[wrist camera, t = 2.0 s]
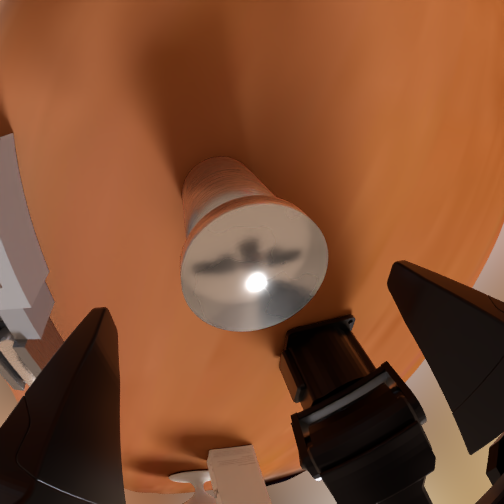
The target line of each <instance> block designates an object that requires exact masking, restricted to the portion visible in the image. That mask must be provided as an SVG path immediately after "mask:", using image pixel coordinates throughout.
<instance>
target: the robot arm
mask: <svg viewBox="0 0 504 504" xmlns="http://www.w3.org/2000/svg"><path fill="white" fill-rule="evenodd" d="M387 286H388V289H389V291H390V293H391V295H392V297H393V299H394V301H395V303H396V305H397V307H398V309H399V311H400V313H401V315H402V317H403V319H404V321H405V323H406V325H407V327H408V328H409V330H410V332H411V334H412V335H413V337H414V339H415V341H416V342H417V344H418V346H419V348H420V349H421V351H422V353H423V355H424V357H425V359H426V360H427V362H428V364H429V366H430V368H431V370H432V372H433V374H434V376H435V378H436V380H437V381H438V384H439V386H440V388H441V390H442V392H443V394H444V396H445V398H446V400H447V402H448V404H449V406H450V409H451V411H452V412H453V413H452V414H453V416H454V418H455V421H456V423H457V425H458V427H459V430H460V432H461V435H462V437H463V440H464V442H465V445H466V447H467V450H468V452H469V454H470V455H472V454H473V453H475V452H476V451H478V450H479V449H481V448H482V447H484V446H485V445H487V444H488V443H489V442H491V441H492V440H494V439H495V438H496V437H498V436H499V435H500V434H501V433H502V434H501V435H500V436H499V437H498V439H497V440H496V441H495V442H494V443H493V444H492V445H491V446H490V448H489V456H488V463H487V469H486V475H487V476H488V478H489V480H490V482H491V483H492V485H493V486H492V487H491V488H490V489H489V490H488V491H487V492H486V493H485V494H484V495H483V496H482V497H481V498H480V499H479V500H478V501H477V502H476V503H475V504H504V302H502V301H500V300H497V299H495V298H493V297H491V296H489V295H486V294H484V293H482V292H480V291H477V290H475V289H473V288H471V287H468V286H466V285H464V284H461V283H459V282H457V281H454V280H452V279H450V278H447V277H445V276H442V275H440V274H438V273H435V272H433V271H430V270H428V269H425V268H423V267H420V266H418V265H415V264H413V263H410V262H408V261H405V260H402V261H397V262H395V263H394V264H393V265H392V268H391V272H390V275H389V278H388V281H387ZM354 322H355V318H354V317H353V315H347V316H344V317H340V318H336V319H332V320H328V321H324V322H320V323H316V324H312V325H308V326H304V327H299V328H295V329H291V330H289V331H288V332H287V334H286V340H285V347H284V350H283V351H282V354H281V361H280V370H281V373H282V375H283V378H284V380H285V383H286V385H287V387H288V390H289V392H290V395H291V397H292V399H293V401H294V402H295V403H298V402H300V403H301V405H302V407H303V411H301V412H299V413H295V414H293V415H291V419H292V423H291V425H292V428H293V432H294V436H295V439H296V443H297V447H298V451H299V459H300V466H301V467H302V469H304V470H307V471H309V473H310V474H311V475H312V477H313V478H314V479H315V480H317V481H321V480H323V481H324V483H325V485H326V486H327V488H328V489H329V491H330V492H331V494H332V495H333V496H334V498H335V500H336V502H337V504H432V502H431V500H430V498H429V495H428V493H427V491H426V489H425V487H424V483H425V479H426V476H427V475H428V474H430V473H431V472H433V471H434V469H435V459H436V458H435V455H434V454H433V451H432V448H431V445H430V443H429V441H428V438H427V436H426V434H425V432H424V430H423V428H422V426H421V425H423V424H424V423H426V421H427V420H426V416H425V413H424V411H423V409H422V407H421V405H420V403H419V401H418V400H417V398H416V397H415V395H414V394H413V393H412V391H411V390H410V389H409V388H408V386H407V385H406V384H405V383H404V381H403V380H402V379H401V378H400V376H399V375H398V374H397V373H396V372H395V370H394V369H393V368H392V367H391V366H390V364H389V363H388V362H387V361H386V362H384V363H383V364H381V366H380V367H378V368H377V369H376V368H375V366H374V365H373V363H372V361H371V360H370V358H369V357H368V355H367V354H366V352H365V351H364V349H363V348H362V346H361V345H360V343H359V342H358V341H357V339H356V338H355V336H354V335H353V333H352V332H351V330H352V328H353V325H354ZM0 504H126V501H125V494H124V485H123V475H122V463H121V446H120V372H119V355H118V333H117V328H116V326H115V324H114V321H113V319H112V317H111V314H110V312H109V310H108V309H107V308H106V307H100V308H94V309H92V310H91V311H90V312H89V314H88V315H87V316H86V317H85V318H84V319H83V321H82V322H81V323H80V324H79V325H78V326H77V328H76V329H75V330H74V331H73V332H72V333H71V335H70V336H69V337H68V338H67V339H66V341H65V342H64V343H63V344H62V346H61V347H60V348H59V349H58V351H57V352H56V353H55V354H54V356H53V357H52V358H51V359H50V361H49V362H48V363H47V364H46V366H45V367H44V368H43V370H42V371H41V372H40V374H39V375H38V376H37V378H36V379H35V380H34V382H33V383H32V384H31V386H30V387H29V388H28V390H27V391H26V393H25V396H23V397H22V398H21V400H20V401H19V403H18V404H17V406H16V407H15V408H14V410H13V411H12V413H11V414H10V415H9V417H8V418H7V420H6V421H5V422H4V423H3V425H2V426H1V427H0Z"/></svg>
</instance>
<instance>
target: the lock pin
mask: <svg viewBox="0 0 504 504" xmlns="http://www.w3.org/2000/svg"><path fill="white" fill-rule="evenodd" d="M14 341H15V338H14V337H13V335H12V334H11V332H10V331H9V329H8V327H7V326H5V327H4V328H2V329H1V330H0V351H1V352H2V354H3V355H4V356H5V358H6V359H7V360H8V362H9V363H10V364H11V365H12V367H13V368H14V369H15V370H16V371H17V373H18V374H19V375H20V376H21V377H22V379H23V380H24V381H25V382H26V383H27V384H28V385H29V386H31V384H32V383H33V382H34V380H35V379H36V377H35V376H34V375H33V374H32V372H31V371H30V370H29V369H28V367H27V366H26V365H25V364H24V362H23V361H22V360H21V358H20V357H19V356H18V354H17V353H16V352H15V350H14V349H13V348H12V347H13V344H14Z"/></svg>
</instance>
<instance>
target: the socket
mask: <svg viewBox="0 0 504 504" xmlns="http://www.w3.org/2000/svg"><path fill="white" fill-rule="evenodd" d="M48 273H49V270H48V267H47V265H46V262H45V260H44V257H43V254H42V252H41V249H40V246H39V243H38V240H37V237H36V234H35V231H34V228H33V225H32V221H31V218H30V215H29V211H28V207H27V204H26V200H25V196H24V192H23V187H22V183H21V178H20V173H19V168H18V163H17V157H16V151H15V144H14V136H13V133H11V134H8V135H5V136H2V137H0V321H1V320H3V321H4V323H5V324H6V326H7V327H8V329H9V331H10V332H11V334H12V335H13V337H14V338H15V339H41V338H42V335H43V332H44V329H45V326H46V324H47V321H48V318H49V315H50V313H51V310H52V308H53V305H54V303H55V302H54V300H53V298H52V296H51V294H50V291H49V289H48V287H47V285H46V283H45V279H46V277H47V275H48Z"/></svg>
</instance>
